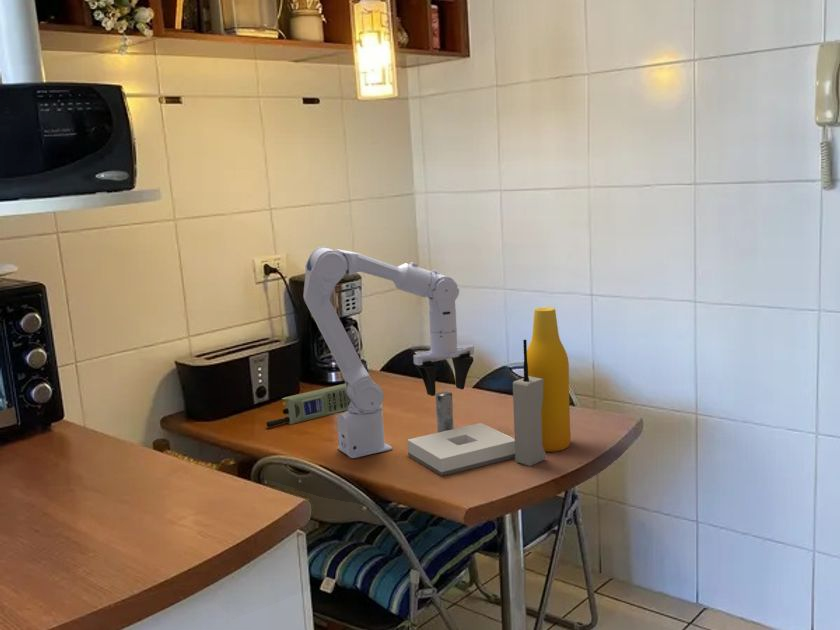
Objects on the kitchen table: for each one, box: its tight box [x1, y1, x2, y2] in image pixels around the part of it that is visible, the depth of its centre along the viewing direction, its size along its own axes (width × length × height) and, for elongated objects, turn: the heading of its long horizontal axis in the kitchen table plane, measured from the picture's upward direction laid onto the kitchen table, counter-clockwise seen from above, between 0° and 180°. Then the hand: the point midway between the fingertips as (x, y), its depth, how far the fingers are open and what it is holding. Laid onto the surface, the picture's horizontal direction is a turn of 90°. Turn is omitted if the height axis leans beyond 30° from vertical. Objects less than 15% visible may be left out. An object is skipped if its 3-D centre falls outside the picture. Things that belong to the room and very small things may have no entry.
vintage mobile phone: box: [512, 339, 546, 467], centre depth 165 cm, size 4×5×25 cm
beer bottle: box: [527, 306, 571, 453], centre depth 174 cm, size 9×9×29 cm
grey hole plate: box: [406, 422, 515, 477], centre depth 172 cm, size 18×14×4 cm
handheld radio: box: [265, 383, 351, 428], centre depth 204 cm, size 7×3×25 cm
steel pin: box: [435, 391, 455, 433], centre depth 183 cm, size 4×4×10 cm
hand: (445, 391), depth 183 cm, fingers open, 7 cm apart
